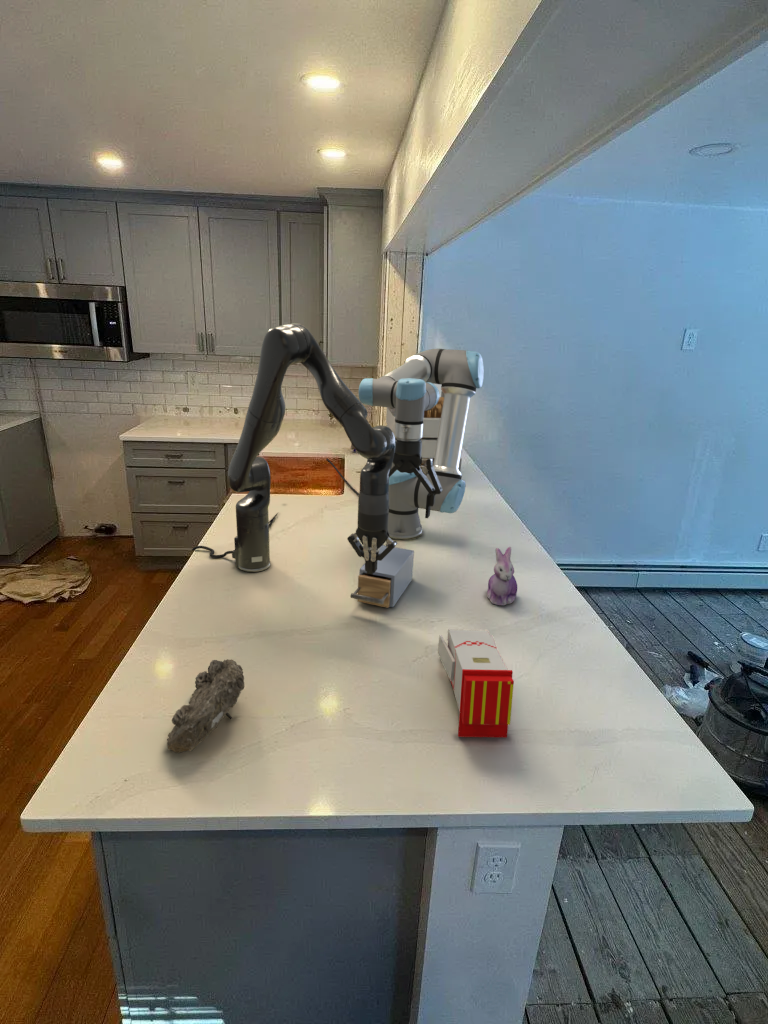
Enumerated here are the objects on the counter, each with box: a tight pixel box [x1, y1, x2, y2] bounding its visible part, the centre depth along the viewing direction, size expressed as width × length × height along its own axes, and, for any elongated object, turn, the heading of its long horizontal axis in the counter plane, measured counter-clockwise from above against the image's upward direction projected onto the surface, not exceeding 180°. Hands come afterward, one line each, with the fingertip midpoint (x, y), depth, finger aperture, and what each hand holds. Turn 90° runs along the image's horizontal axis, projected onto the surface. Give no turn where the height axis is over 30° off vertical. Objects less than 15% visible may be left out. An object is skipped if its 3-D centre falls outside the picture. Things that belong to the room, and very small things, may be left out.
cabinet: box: [358, 544, 415, 608], centre depth 158 cm, size 18×10×9 cm, turn 161°
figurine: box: [486, 546, 518, 606], centre depth 155 cm, size 9×10×15 cm
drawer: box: [350, 573, 391, 609], centre depth 154 cm, size 22×9×8 cm, turn 161°
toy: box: [437, 628, 515, 738], centre depth 117 cm, size 12×13×30 cm
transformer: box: [385, 390, 463, 474], centre depth 268 cm, size 34×33×41 cm
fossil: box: [166, 658, 245, 754], centre depth 106 cm, size 22×10×15 cm
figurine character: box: [350, 442, 357, 453], centre depth 311 cm, size 7×8×15 cm
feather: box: [269, 512, 279, 528], centre depth 210 cm, size 2×28×2 cm
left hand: (370, 572), depth 144 cm, fingers closed
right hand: (403, 513), depth 158 cm, fingers open, 13 cm apart
